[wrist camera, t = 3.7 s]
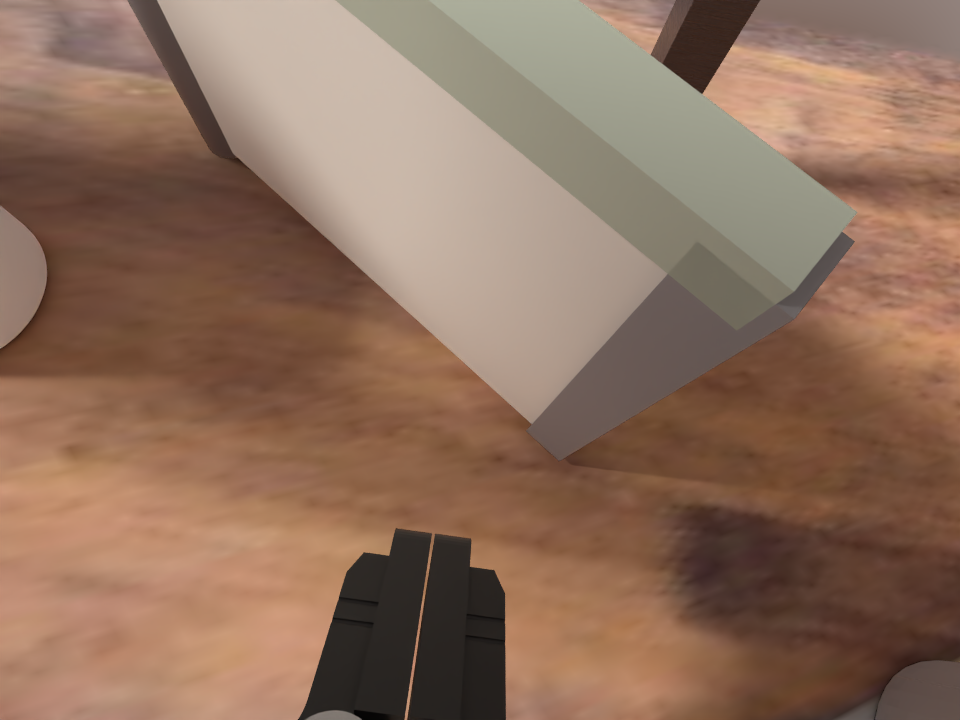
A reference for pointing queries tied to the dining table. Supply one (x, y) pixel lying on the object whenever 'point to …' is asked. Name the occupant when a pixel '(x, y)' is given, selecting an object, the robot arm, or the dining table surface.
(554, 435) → the gate
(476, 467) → the dining table surface
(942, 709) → the coffee cup
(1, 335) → the can
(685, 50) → the gate frame
